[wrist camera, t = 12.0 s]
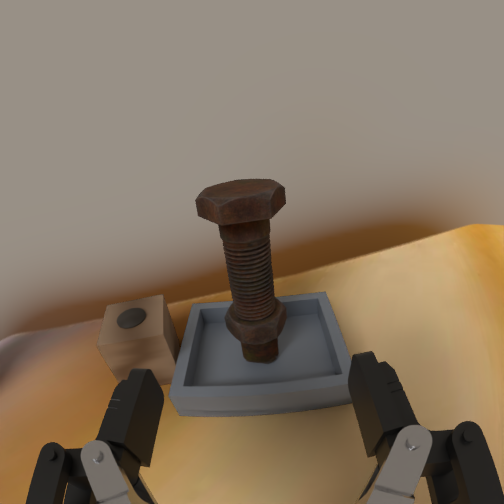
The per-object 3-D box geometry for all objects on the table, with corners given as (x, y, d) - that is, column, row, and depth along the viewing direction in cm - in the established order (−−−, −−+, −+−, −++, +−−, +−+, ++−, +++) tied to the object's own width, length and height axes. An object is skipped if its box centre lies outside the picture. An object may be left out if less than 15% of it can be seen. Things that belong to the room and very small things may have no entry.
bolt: (248, 330, 27) (225, 178, 21) (297, 338, 25) (290, 176, 19) (221, 371, 23) (180, 200, 16) (276, 385, 21) (260, 200, 14)
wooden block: (123, 390, 22) (95, 344, 19) (127, 349, 27) (106, 304, 24) (183, 381, 23) (162, 332, 20) (178, 339, 28) (162, 292, 26)
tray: (179, 415, 20) (168, 396, 18) (198, 325, 30) (192, 303, 29) (352, 402, 19) (358, 381, 18) (324, 313, 30) (325, 291, 28)
